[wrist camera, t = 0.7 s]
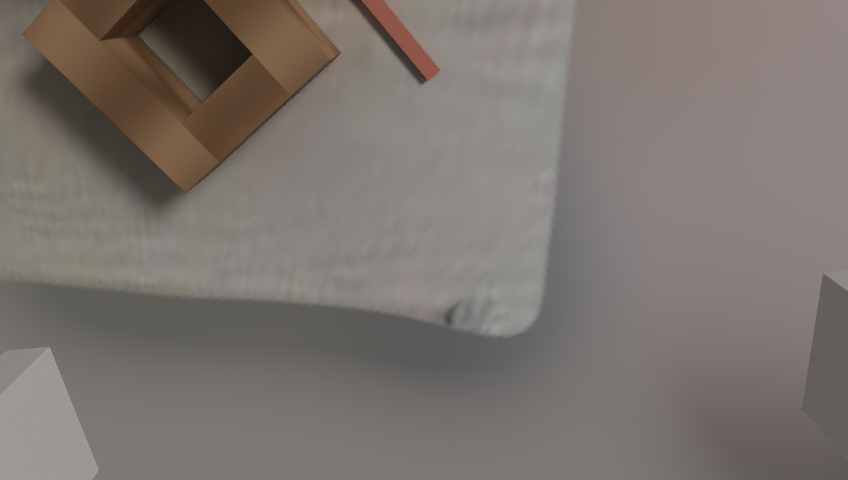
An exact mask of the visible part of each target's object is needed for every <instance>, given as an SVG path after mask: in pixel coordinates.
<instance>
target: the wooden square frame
mask: <svg viewBox="0 0 848 480" xmlns="http://www.w3.org/2000/svg"><path fill="white" fill-rule="evenodd" d="M170 1H171V0H52V1H51V2H50V3H49V4H48V5H47V6H46V8H45V9H44V10H43V11H42V12H41V13H40V14H39V16H38V17H37V18H36V19H35V20H34V21H33V22H32V23H31V25H30V26H29V27H28V28H27V29H26V30H25V31H24V33H23V34H22V35H23V36H24V37H25V38H26V39H27V40H28V41H29V42H30V43H31V44H32V45H34V46H35V47H36V48H37V49H38V50H39V51H40V52H41V53H42V54H43V55H44V56H45V57H46V58H47V59H48V60H49V61H50V62H51V63H52V64H53V65H54V66H55V67H56V68H57V69H58V70H59V71H60V72H61V73H62V74H63V75H64V76H65V77H66V78H67V79H69V80H70V81H71V82H72V83H73V84H74V85H75V86H76V87H77V88H78V89H79V90H80V91H81V92H82V93H83V94H84V95H85V96H86V97H87V98H88V99H89V100H90V101H91V102H92V103H93V104H94V105H95V106H96V107H97V108H98V109H99V110H100V111H101V112H102V113H104V114H105V115H106V116H107V117H108V118H109V119H110V120H111V121H112V122H113V123H114V124H115V125H116V126H117V127H118V128H119V129H120V130H121V131H122V132H123V133H124V134H125V135H126V136H127V137H128V138H129V139H130V140H131V141H132V142H133V143H134V144H135V145H136V146H138V147H139V148H140V149H141V150H142V151H143V152H144V153H145V154H146V155H147V156H148V157H149V158H150V159H151V160H152V161H153V162H154V163H155V164H156V165H157V166H158V167H159V168H160V169H161V170H162V171H163V172H164V173H165V174H166V175H167V176H168V177H169V178H170V179H171V180H173V181H174V182H175V183H176V184H177V185H178V186H179V187H180V188H181V189H182V190H183V191H184V192H185V193H187V192H188V191H189V190H190V189H192V188H193V187H194V186H195V185H197V184H198V183H199V182H200V181H202V180H203V179H204V178H205V177H206V176H208V175H209V174H210V173H211V172H213V171H214V170H215V169H216V168H217V167H218V166H219V165H220V164H221V163H222V162H223V161H225V160H226V159H227V158H228V157H229V156H230V155H231V154H232V153H233V152H234V151H235V150H236V149H237V148H239V147H240V146H241V145H242V144H243V143H244V142H245V141H246V140H247V139H248V138H249V137H250V136H252V135H253V134H254V133H255V132H256V131H257V130H258V129H259V128H260V127H261V126H262V125H263V124H265V123H266V122H267V121H268V120H269V119H270V118H271V117H272V116H273V115H274V114H275V113H276V112H278V111H279V110H280V109H281V108H282V107H283V106H284V105H285V104H286V103H287V102H288V101H289V100H291V99H292V98H293V97H294V96H295V95H296V94H297V93H298V92H299V91H300V90H301V89H302V88H304V87H305V86H306V85H307V84H308V83H309V82H310V81H311V80H312V79H313V78H314V77H315V76H317V75H318V74H319V73H320V72H321V71H322V70H323V69H324V68H325V67H326V66H327V65H328V64H330V63H331V62H332V61H333V60H334V59H335V58H336V57H337V56H338V55H339V54H340V53H341V52H340V51H339V50H338V49H337V48H336V47H335V45H334V44H333V43H332V42H331V41H330V40H329V38H328V37H327V36H326V35H325V34H324V33H323V31H322V30H321V29H320V28H319V27H318V26H317V25H316V23H315V22H314V21H313V20H312V19H311V18H310V16H309V15H308V14H307V13H306V12H305V11H304V9H303V8H302V7H301V6H300V5H299V4H298V2H297V1H296V0H204V1H205V2H206V3H207V4H208V6H209V7H210V8H211V9H212V10H213V11H214V12H215V13H216V14H217V15H218V17H219V18H220V19H221V20H222V21H223V22H224V23H225V24H226V25H227V26H228V28H229V29H230V30H231V31H232V32H233V33H234V34H235V35H236V36H237V37H238V38H239V40H240V41H241V42H242V43H243V44H244V45H245V46H246V47H247V48H248V49H249V51H250V52H251V53H252V55H251V56H250V57H249V58H248V59H247V60H246V61H245V62H244V63H243V64H242V65H241V66H240V67H239V68H238V69H237V70H236V71H235V72H234V73H233V74H232V75H231V76H230V77H229V78H228V79H227V80H226V81H225V82H224V83H223V84H222V85H220V86H219V87H218V88H217V89H216V90H215V91H214V92H213V93H212V94H211V95H210V96H209V97H208V98H207V99H206V100H205V101H204V102H202V101H201V100H200V99H199V98H198V97H197V96H196V95H195V94H194V93H193V92H192V91H191V90H190V89H189V88H188V87H187V86H186V85H185V84H184V83H183V82H182V81H181V80H180V79H179V78H178V77H177V75H176V74H175V73H174V72H173V71H172V70H171V69H170V68H169V67H168V66H167V65H166V64H165V63H164V62H163V61H162V60H161V59H160V58H159V57H158V56H157V55H156V54H155V53H154V52H153V51H152V50H151V49H150V48H149V46H148V45H147V44H146V43H145V42H144V41H143V40H142V39H141V38H140V37H139V36H138V35H139V34H140V33H141V32H142V31H143V29H144V28H145V27H146V26H147V25H148V24H149V23H150V22H151V21H152V20H153V19H154V18H155V17H156V16H157V15H158V14H159V13H160V12H161V11H162V9H163V8H164V7H165V6H166V5H167V4H168V3H169V2H170Z"/></svg>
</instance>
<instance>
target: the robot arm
mask: <svg viewBox="0 0 848 480" xmlns="http://www.w3.org/2000/svg"><path fill="white" fill-rule="evenodd" d="M802 410H803V411H804V412H805V414H806V415H807V416H808V417H809V418H810V419H811V420H812V421H813V423H814V424H815V425H816V426H817V427H818V428H819V429H820V431H821V432H822V433H823V434H824V435H825V436H826V437H827V438H828V439H829V441H830V442H831V443H832V444H833V445H834V446H835V447H836V448H837V450H838V451H839V452H840V453H841V454H842V455H843V456H844V458H845V459H846V460H847V461H848V271H842V272H831V273H823V278H822V284H821V291H820V297H819V303H818V310H817V317H816V323H815V329H814V336H813V342H812V348H811V354H810V361H809V367H808V374H807V380H806V386H805V392H804V399H803V405H802ZM97 472H98V467H97V465H96V462H95V460H94V457H93V455H92V452H91V450H90V447H89V445H88V442H87V440H86V437H85V435H84V432H83V430H82V428H81V425H80V422H79V420H78V418H77V415H76V412H75V410H74V407H73V405H72V403H71V400H70V397H69V395H68V393H67V390H66V388H65V385H64V383H63V380H62V378H61V375H60V373H59V370H58V368H57V365H56V363H55V360H54V358H53V355H52V353H51V350H50V348H49V347H43V348H32V349H22V350H11V351H6V352H5V353H4V354H3V355H1V356H0V480H92V479H93V478H94V476H95V475H96V473H97Z"/></svg>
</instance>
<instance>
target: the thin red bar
mask: <svg viewBox="0 0 848 480" xmlns="http://www.w3.org/2000/svg"><path fill="white" fill-rule="evenodd" d="M362 1H363V3H364V4H365V5H366V6H367V7H368V9H369V10H370V11H371V12H372V14H373V15H374V16H375V17H376V18H377V20H378V21H379V22H380V23H381V24H382V26H383V27H384V28H385V29H386V31H387V32H388V33H389V34H390V35H391V37H392V38H393V39H394V40H395V41H396V43H397V44H398V45H399V46H400V48H401V49H402V50H403V51H404V52H405V54H406V55H407V56H408V57H409V58H410V60H411V61H412V62H413V63H414V64H415V66H416V67H417V68H418V69H419V71H420V72H421V73H422V74H423V75H424V77H425V78H426V79H427V80H430V79H431V78H432V77H433V76H434V75H435V74H436V73H438V72H439V71H440V70H439V68H438V67H437V66H436V65H435V64H434V62H433V61H432V60H431V59H430V57H429V56H428V55H427V54H426V52H425V51H424V50H423V49H422V48H421V46H420V45H419V44H418V43H417V41H416V40H415V39H414V38H413V36H412V35H411V34H410V33H409V32H408V30H407V29H406V28H405V27H404V25H403V24H402V23H401V22H400V20H399V19H398V18H397V17H396V16H395V14H394V13H393V12H392V11H391V9H390V8H389V7H388V6H387V5H386V3H385V2H384V1H383V0H362Z"/></svg>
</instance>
